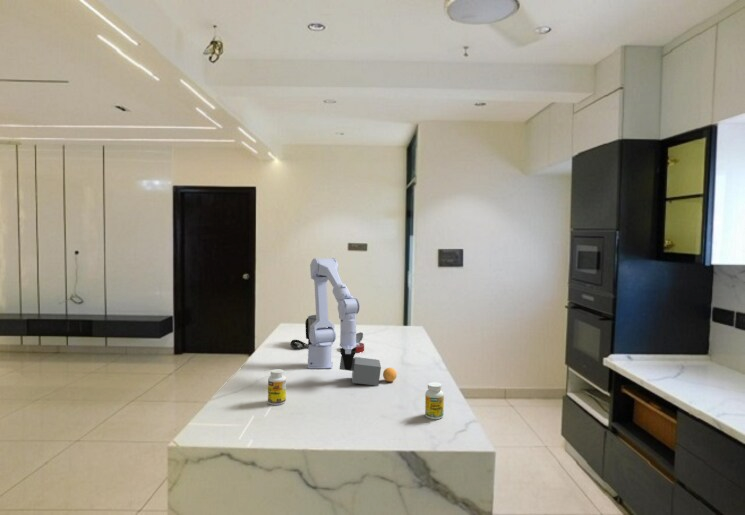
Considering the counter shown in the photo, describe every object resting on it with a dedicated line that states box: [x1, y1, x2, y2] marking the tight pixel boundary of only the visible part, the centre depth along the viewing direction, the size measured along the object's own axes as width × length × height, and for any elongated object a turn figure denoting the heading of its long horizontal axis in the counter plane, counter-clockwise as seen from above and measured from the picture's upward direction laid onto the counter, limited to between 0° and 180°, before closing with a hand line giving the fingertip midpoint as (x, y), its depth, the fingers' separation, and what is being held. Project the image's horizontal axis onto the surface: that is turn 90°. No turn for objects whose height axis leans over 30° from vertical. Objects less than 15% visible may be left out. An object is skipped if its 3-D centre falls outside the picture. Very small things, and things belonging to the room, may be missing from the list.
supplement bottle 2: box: [424, 381, 445, 420], centre depth 132 cm, size 5×5×10 cm
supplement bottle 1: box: [267, 368, 287, 406], centre depth 141 cm, size 6×6×10 cm
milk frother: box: [290, 314, 327, 350], centre depth 212 cm, size 14×16×15 cm
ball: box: [382, 367, 398, 382], centre depth 163 cm, size 5×5×5 cm
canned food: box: [355, 331, 365, 354], centre depth 207 cm, size 11×10×10 cm
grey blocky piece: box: [339, 355, 382, 387], centre depth 162 cm, size 14×9×8 cm, turn 93°
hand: (347, 368), depth 162 cm, fingers closed on grey blocky piece
